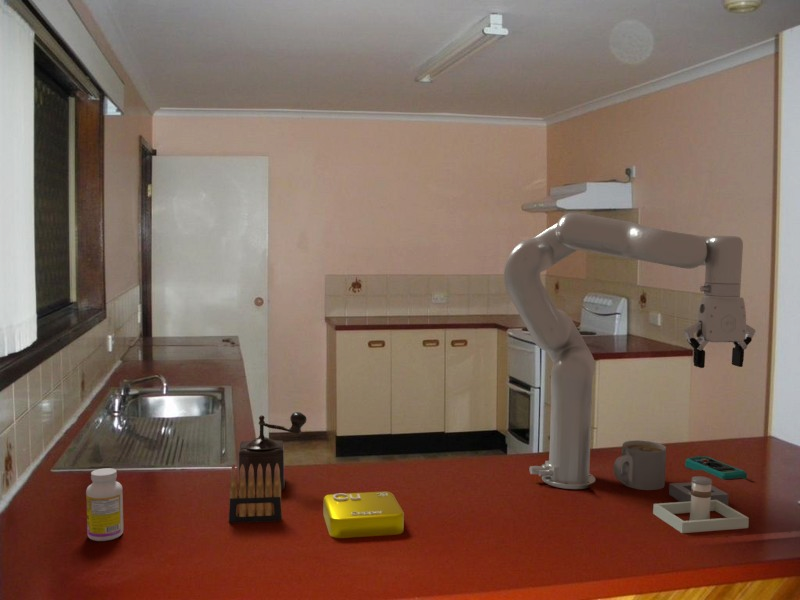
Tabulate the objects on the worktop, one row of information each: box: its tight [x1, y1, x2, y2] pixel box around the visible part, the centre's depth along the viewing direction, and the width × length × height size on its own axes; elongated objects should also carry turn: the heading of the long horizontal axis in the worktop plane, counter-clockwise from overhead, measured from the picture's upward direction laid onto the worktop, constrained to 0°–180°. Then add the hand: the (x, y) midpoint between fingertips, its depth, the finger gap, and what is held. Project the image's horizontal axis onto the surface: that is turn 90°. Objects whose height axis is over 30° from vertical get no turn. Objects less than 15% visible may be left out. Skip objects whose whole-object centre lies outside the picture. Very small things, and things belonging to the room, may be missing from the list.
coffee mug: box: [613, 439, 667, 491], centre depth 193 cm, size 13×10×10 cm
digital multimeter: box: [684, 455, 748, 480], centre depth 206 cm, size 7×15×3 cm, turn 20°
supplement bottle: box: [85, 467, 124, 542], centre depth 159 cm, size 7×7×13 cm
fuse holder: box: [668, 481, 730, 506], centre depth 182 cm, size 9×9×4 cm
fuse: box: [689, 475, 713, 521], centre depth 169 cm, size 4×4×9 cm
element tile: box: [322, 491, 405, 539], centre depth 168 cm, size 15×15×5 cm
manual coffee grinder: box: [238, 411, 307, 493], centre depth 190 cm, size 16×11×18 cm
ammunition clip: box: [228, 463, 283, 524], centre depth 168 cm, size 11×2×12 cm, turn 98°
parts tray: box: [652, 500, 750, 534], centre depth 170 cm, size 15×11×3 cm
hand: (718, 366), depth 185 cm, fingers open, 9 cm apart
